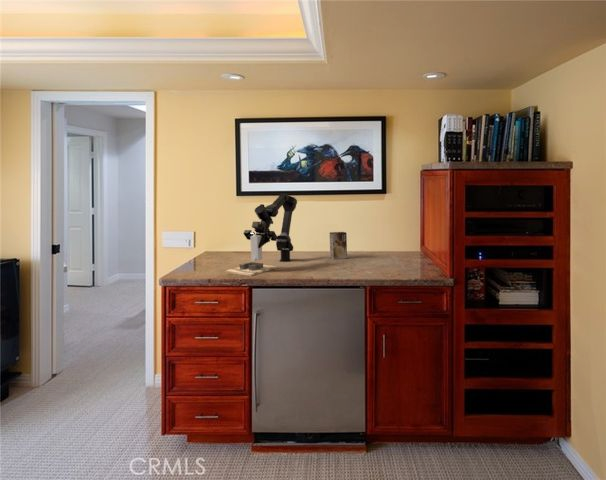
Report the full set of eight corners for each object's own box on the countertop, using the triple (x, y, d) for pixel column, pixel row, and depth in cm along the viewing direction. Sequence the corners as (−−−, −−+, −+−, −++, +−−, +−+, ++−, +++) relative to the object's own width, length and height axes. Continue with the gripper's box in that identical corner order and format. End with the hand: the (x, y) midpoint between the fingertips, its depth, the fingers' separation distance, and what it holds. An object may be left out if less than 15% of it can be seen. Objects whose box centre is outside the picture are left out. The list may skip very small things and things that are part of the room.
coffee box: (343, 256, 298) (343, 231, 296) (347, 258, 292) (347, 232, 290) (329, 257, 296) (329, 232, 294) (333, 259, 290) (332, 233, 288)
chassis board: (252, 265, 276) (251, 259, 275) (277, 267, 266) (277, 261, 266) (224, 272, 255) (224, 266, 255) (250, 275, 246) (250, 269, 245)
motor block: (255, 258, 261) (254, 233, 259) (262, 259, 259) (261, 234, 257) (249, 260, 256) (248, 235, 254) (256, 261, 254) (255, 235, 252)
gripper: (244, 215, 263) (234, 237, 254) (274, 216, 254) (264, 239, 246) (252, 228, 271) (242, 250, 262) (281, 229, 263) (272, 251, 254)
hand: (255, 247), depth 256 cm, fingers closed on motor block, 4 cm apart
